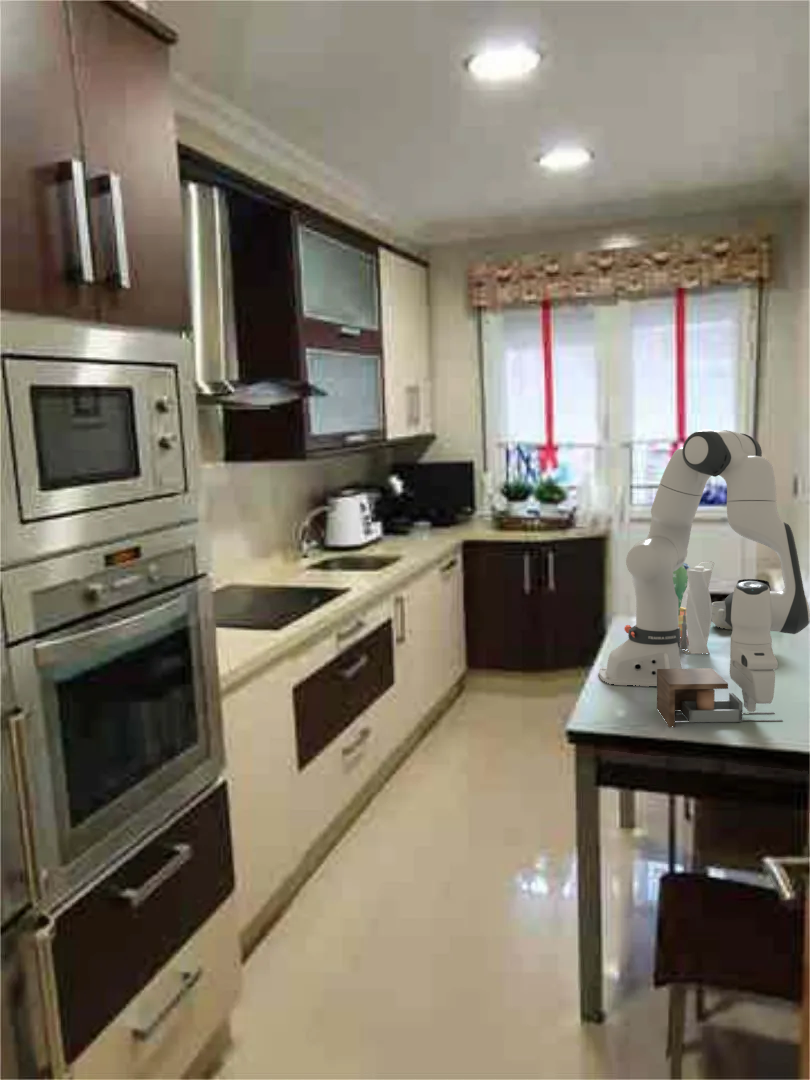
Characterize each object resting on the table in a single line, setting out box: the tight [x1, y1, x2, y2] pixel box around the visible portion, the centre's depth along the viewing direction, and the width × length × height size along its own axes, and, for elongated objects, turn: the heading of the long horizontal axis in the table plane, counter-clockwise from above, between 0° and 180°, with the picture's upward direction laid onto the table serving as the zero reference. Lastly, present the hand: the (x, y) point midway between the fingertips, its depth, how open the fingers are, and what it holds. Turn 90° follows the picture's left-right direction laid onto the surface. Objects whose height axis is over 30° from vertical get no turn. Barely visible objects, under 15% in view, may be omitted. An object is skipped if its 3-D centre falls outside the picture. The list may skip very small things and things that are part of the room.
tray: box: [680, 692, 744, 723], centre depth 193 cm, size 12×7×4 cm, turn 86°
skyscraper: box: [680, 560, 715, 655], centre depth 247 cm, size 8×8×28 cm
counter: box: [656, 667, 784, 728], centre depth 193 cm, size 26×12×10 cm, turn 86°
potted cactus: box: [673, 562, 691, 637], centre depth 267 cm, size 15×15×25 cm
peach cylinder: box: [696, 689, 716, 710], centre depth 193 cm, size 4×4×6 cm
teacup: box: [711, 600, 733, 630], centre depth 275 cm, size 14×11×8 cm
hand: (749, 709), depth 192 cm, fingers closed
